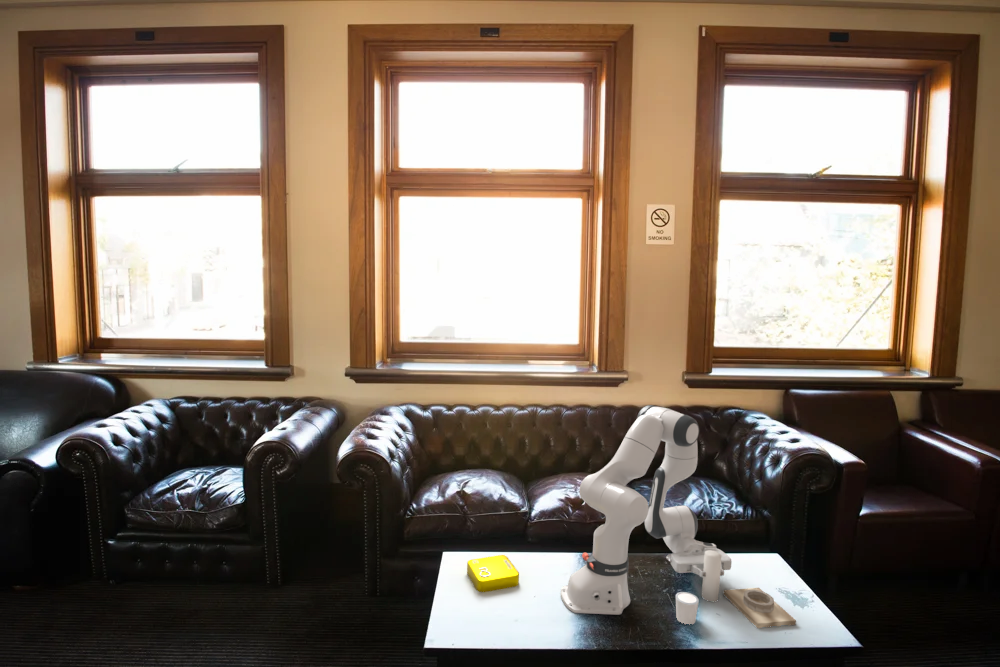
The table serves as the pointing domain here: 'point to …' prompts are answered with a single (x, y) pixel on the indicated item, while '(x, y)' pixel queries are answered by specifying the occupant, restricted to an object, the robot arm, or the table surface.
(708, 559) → the paper roll
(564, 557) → the table surface
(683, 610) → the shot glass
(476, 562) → the element tile
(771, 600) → the roll holder
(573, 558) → the table surface
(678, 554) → the robot arm
